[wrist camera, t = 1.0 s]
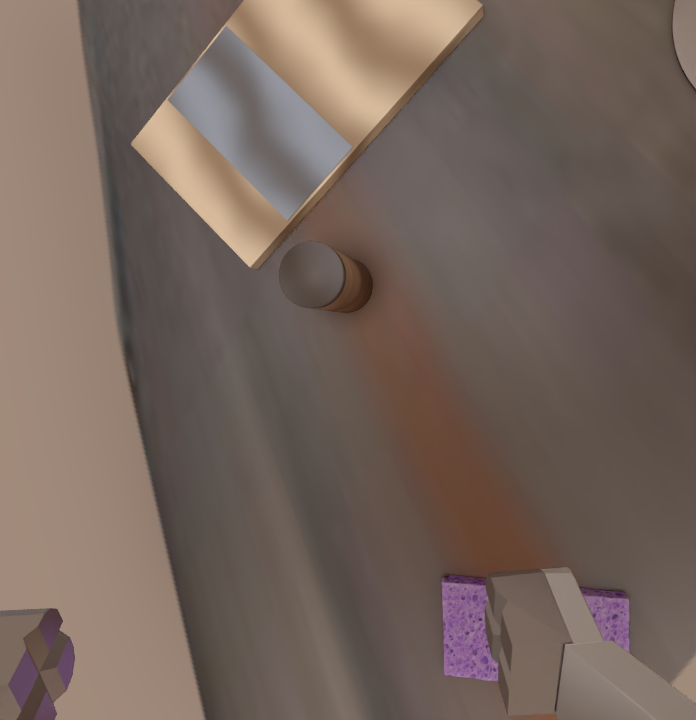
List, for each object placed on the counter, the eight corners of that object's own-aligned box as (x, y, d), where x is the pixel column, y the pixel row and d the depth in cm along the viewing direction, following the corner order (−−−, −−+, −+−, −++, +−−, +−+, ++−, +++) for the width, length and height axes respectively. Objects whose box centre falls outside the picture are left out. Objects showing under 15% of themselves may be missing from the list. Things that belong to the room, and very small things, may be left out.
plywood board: (344, -106, 44) (338, -122, 43) (483, 16, 42) (482, 4, 41) (141, 149, 49) (129, 143, 47) (257, 269, 47) (249, 267, 46)
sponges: (623, 685, 42) (629, 701, 41) (442, 663, 45) (440, 677, 44) (625, 587, 42) (631, 599, 40) (442, 571, 45) (440, 581, 43)
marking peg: (346, 247, 45) (309, 227, 37) (383, 284, 45) (355, 273, 36) (310, 286, 46) (266, 275, 37) (346, 323, 46) (310, 321, 37)
